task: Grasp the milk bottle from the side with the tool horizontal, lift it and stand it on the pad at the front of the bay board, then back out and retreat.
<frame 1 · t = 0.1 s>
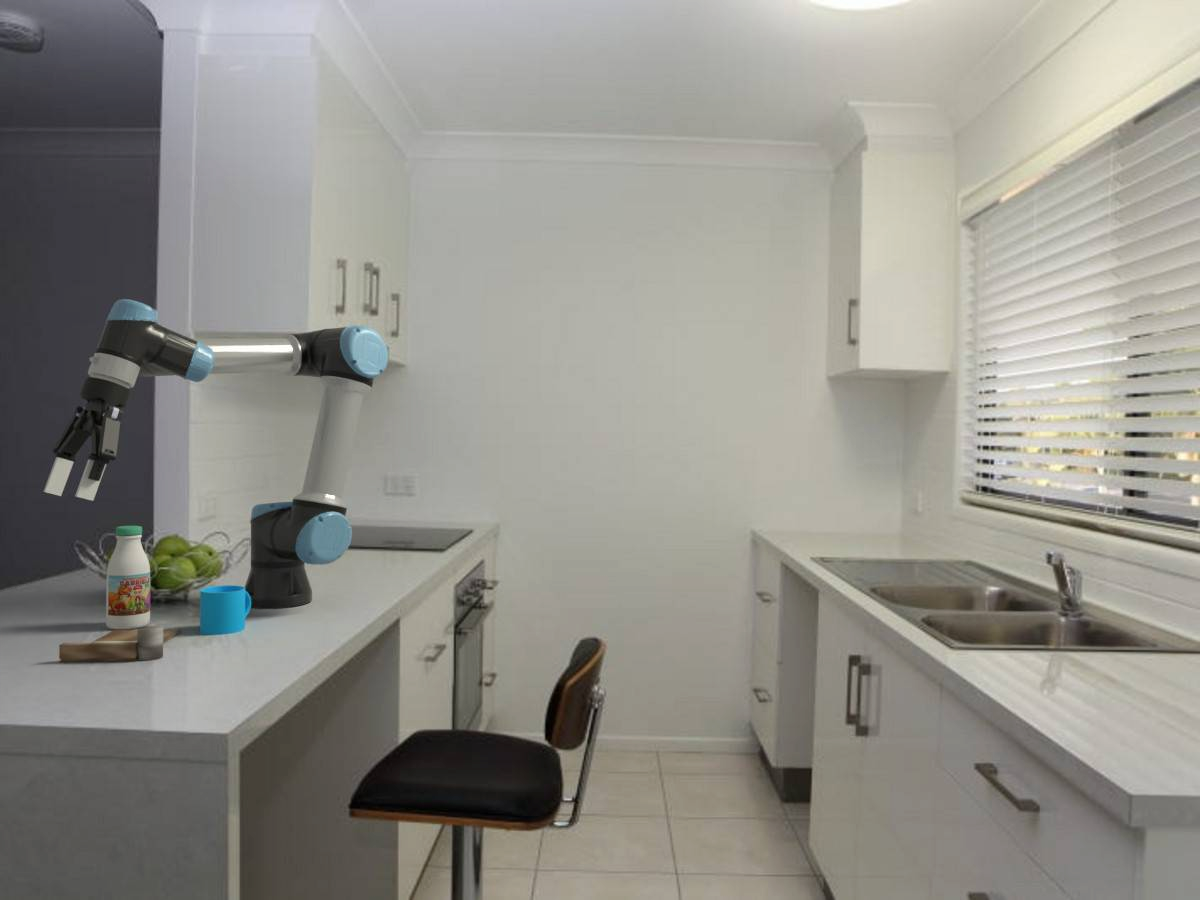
hand: (67, 496, 146), 28 cm above the worktop, tool tilted 20°, fingers open, 13 cm apart
milk bottle: (128, 627, 168), on the worktop
mug: (229, 628, 169), on the worktop
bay: (124, 646, 153), on the worktop
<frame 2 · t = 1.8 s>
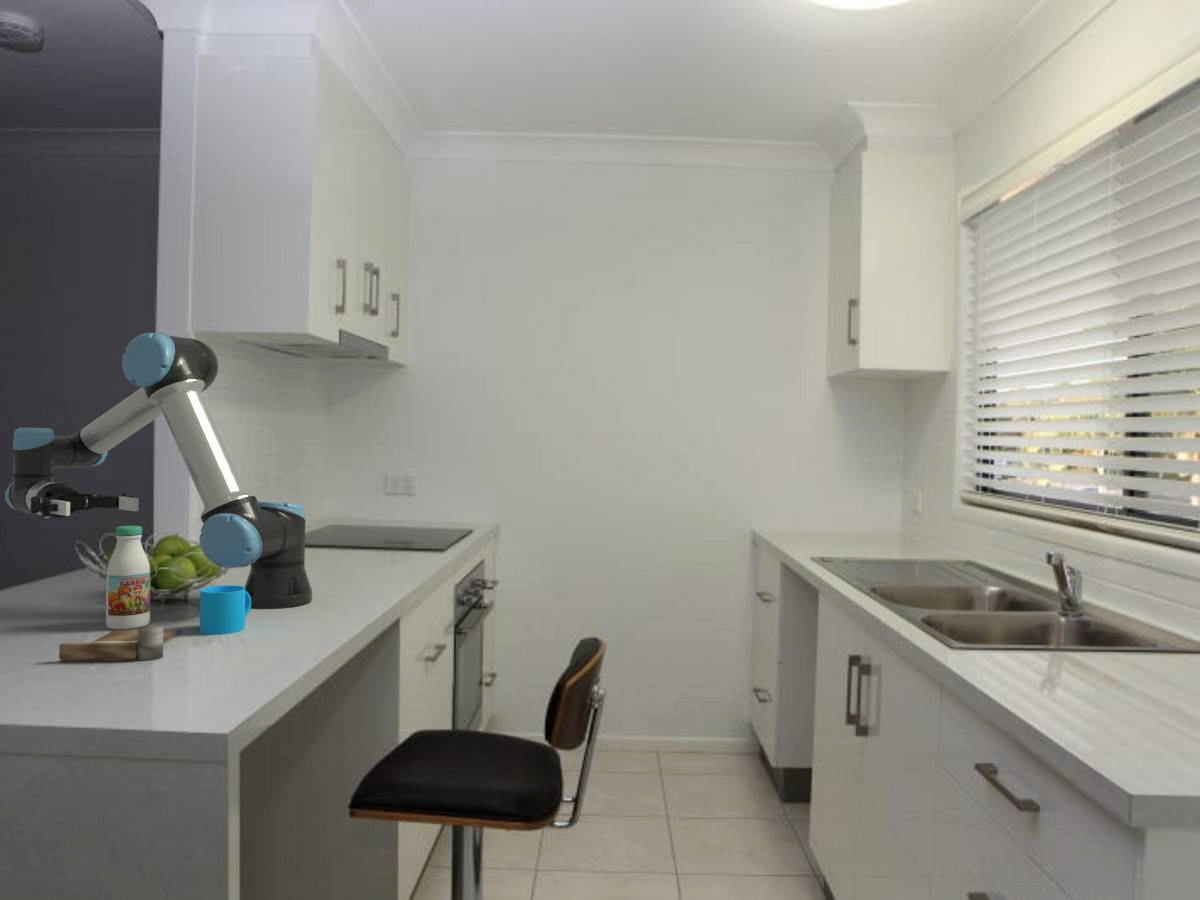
hand: (103, 506, 173), 23 cm above the worktop, tool horizontal, fingers open, 13 cm apart
nothing on the worktop moved.
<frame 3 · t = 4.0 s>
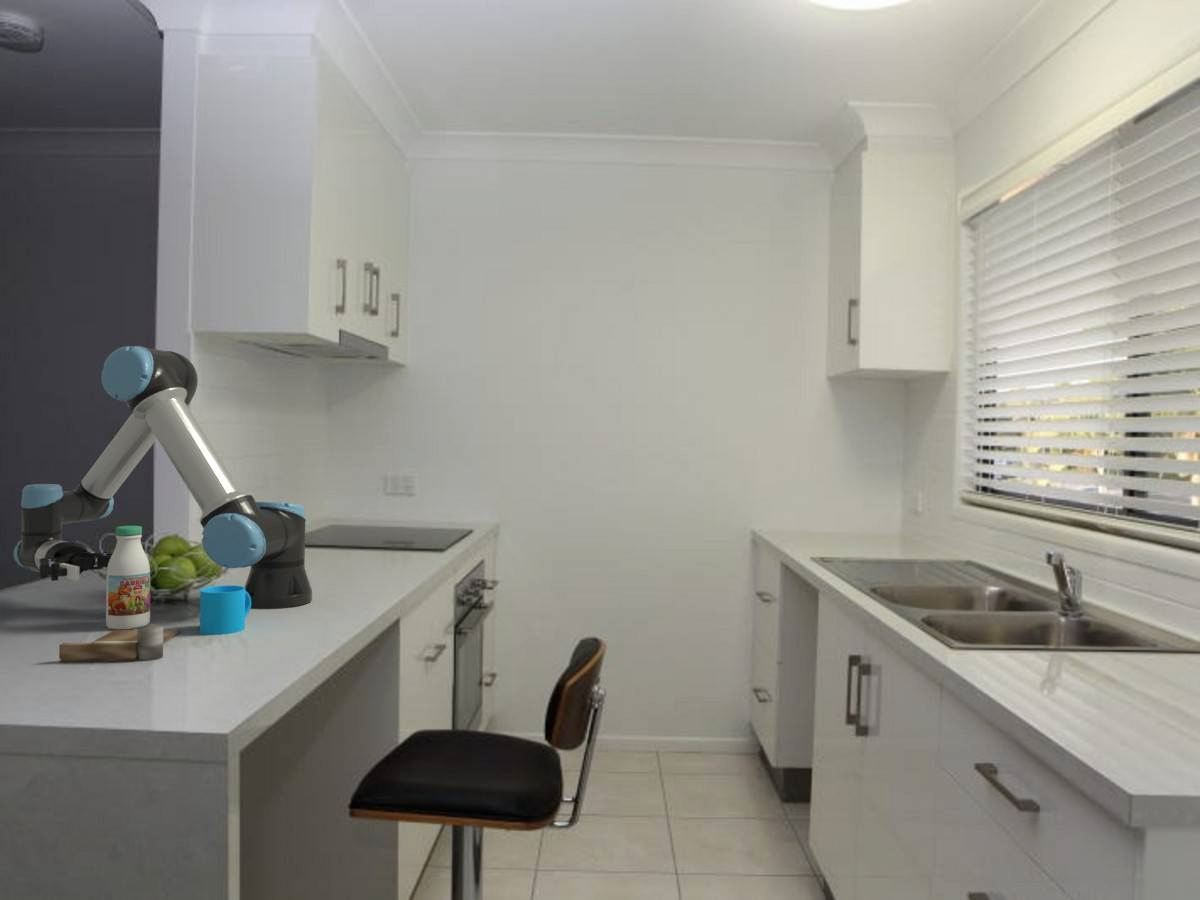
hand: (113, 569, 170), 11 cm above the worktop, tool horizontal, fingers open, 13 cm apart
nothing on the worktop moved.
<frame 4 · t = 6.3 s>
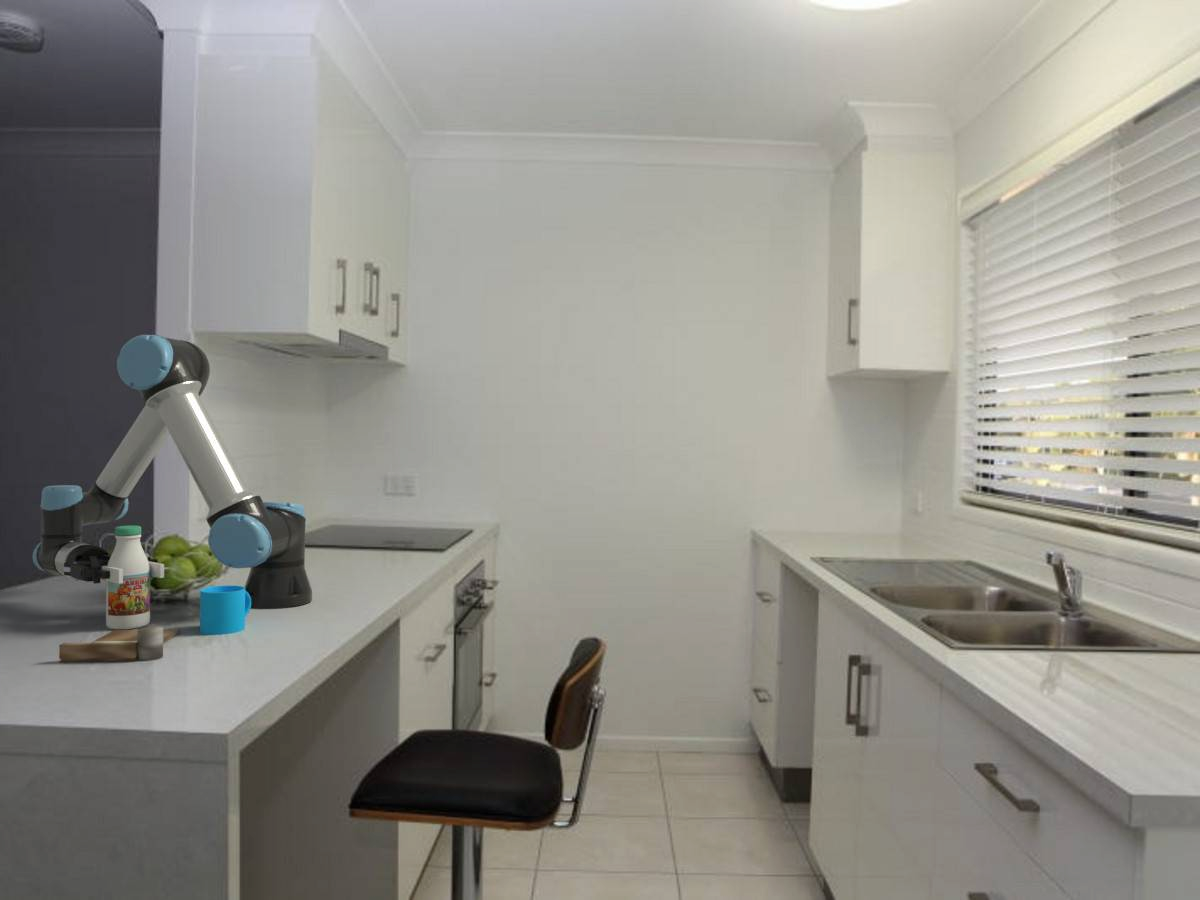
hand: (142, 573, 165), 11 cm above the worktop, tool horizontal, fingers closed on milk bottle, 7 cm apart
milk bottle: (128, 626, 168), on the worktop, touching gripper
everything else where it was.
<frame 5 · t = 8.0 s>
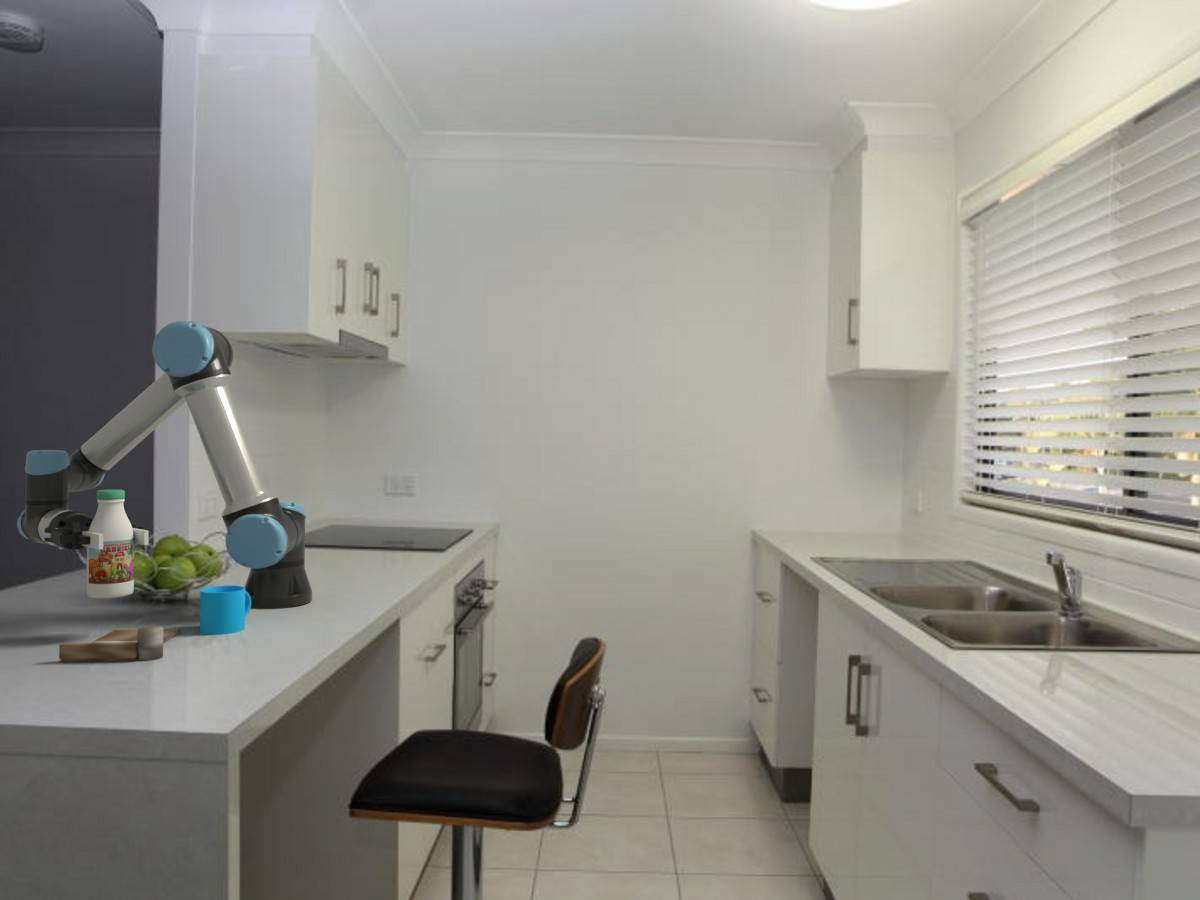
hand: (124, 539, 156), 19 cm above the worktop, tool horizontal, fingers closed on milk bottle, 7 cm apart
milk bottle: (110, 596, 159), point 8 cm above the worktop, touching gripper
everything else where it was.
when the fingers open (13 cm above the worktop, at t = 10.2 s): milk bottle drops 1 cm, resting on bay.
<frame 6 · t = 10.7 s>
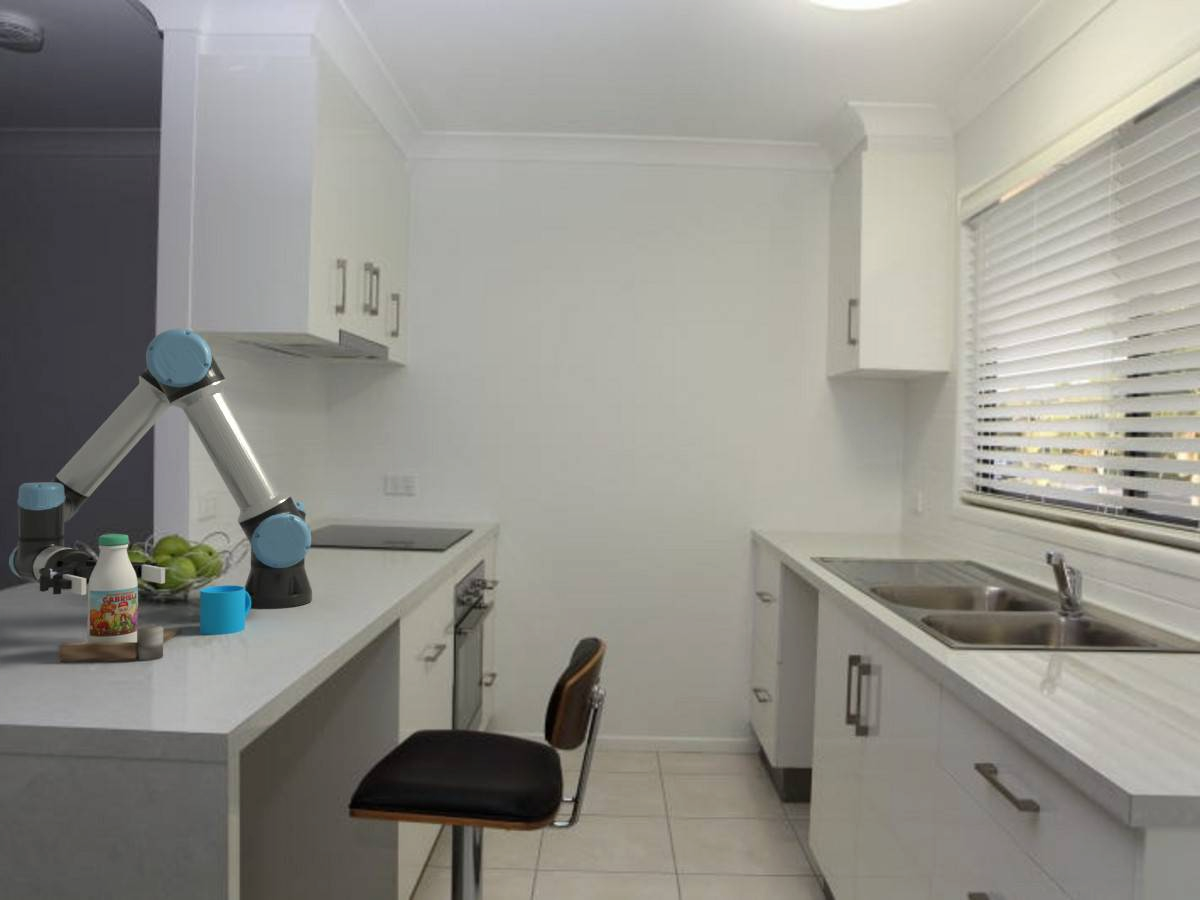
hand: (125, 581, 147), 13 cm above the worktop, tool horizontal, fingers open, 13 cm apart
milk bottle: (112, 648, 149), point 1 cm above the worktop, touching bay
everything else where it was.
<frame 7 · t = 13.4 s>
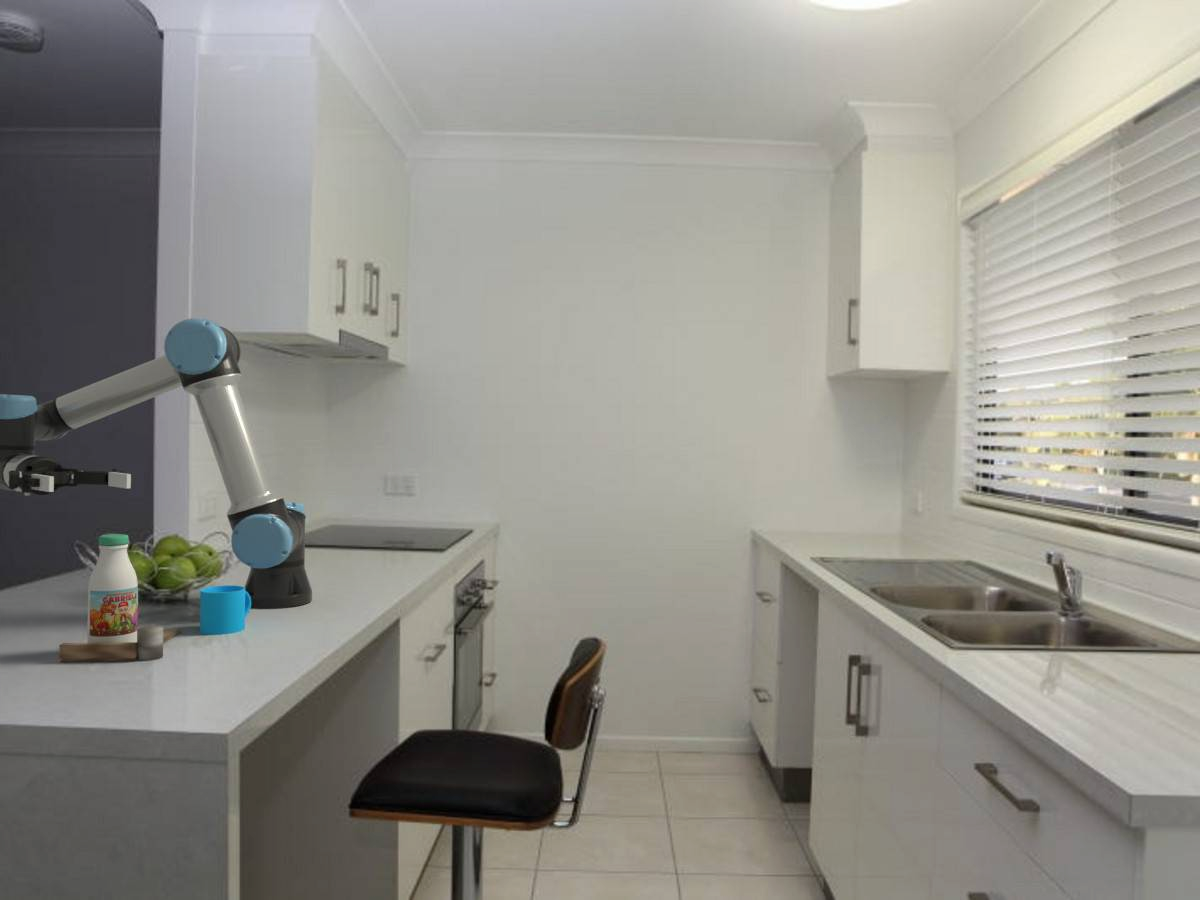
hand: (91, 482, 154), 30 cm above the worktop, tool horizontal, fingers open, 13 cm apart
nothing on the worktop moved.
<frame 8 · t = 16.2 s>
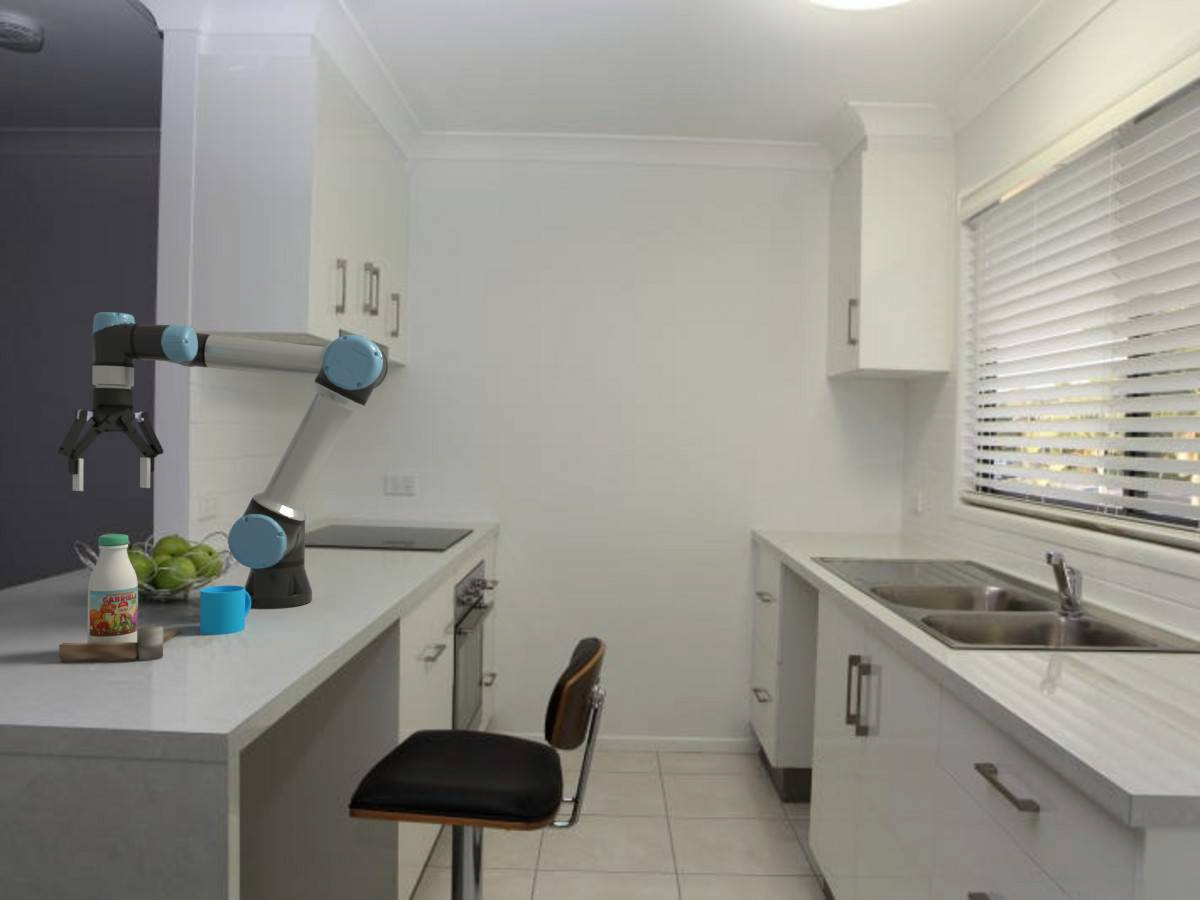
hand: (112, 489, 176), 27 cm above the worktop, tool pointing down, fingers open, 13 cm apart
nothing on the worktop moved.
at the end: milk bottle inside the target area (0.3 cm from its centre), point 0.6 cm above the worktop; milk bottle tilted 0°; the gripper is holding nothing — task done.
